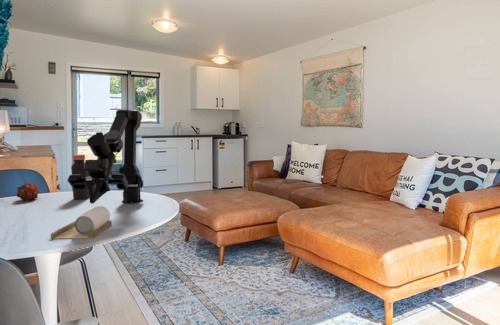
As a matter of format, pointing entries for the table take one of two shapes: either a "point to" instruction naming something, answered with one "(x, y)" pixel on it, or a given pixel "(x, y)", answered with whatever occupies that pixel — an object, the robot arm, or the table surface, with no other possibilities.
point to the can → (92, 220)
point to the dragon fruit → (27, 191)
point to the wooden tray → (71, 232)
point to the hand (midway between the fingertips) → (91, 202)
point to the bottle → (79, 169)
